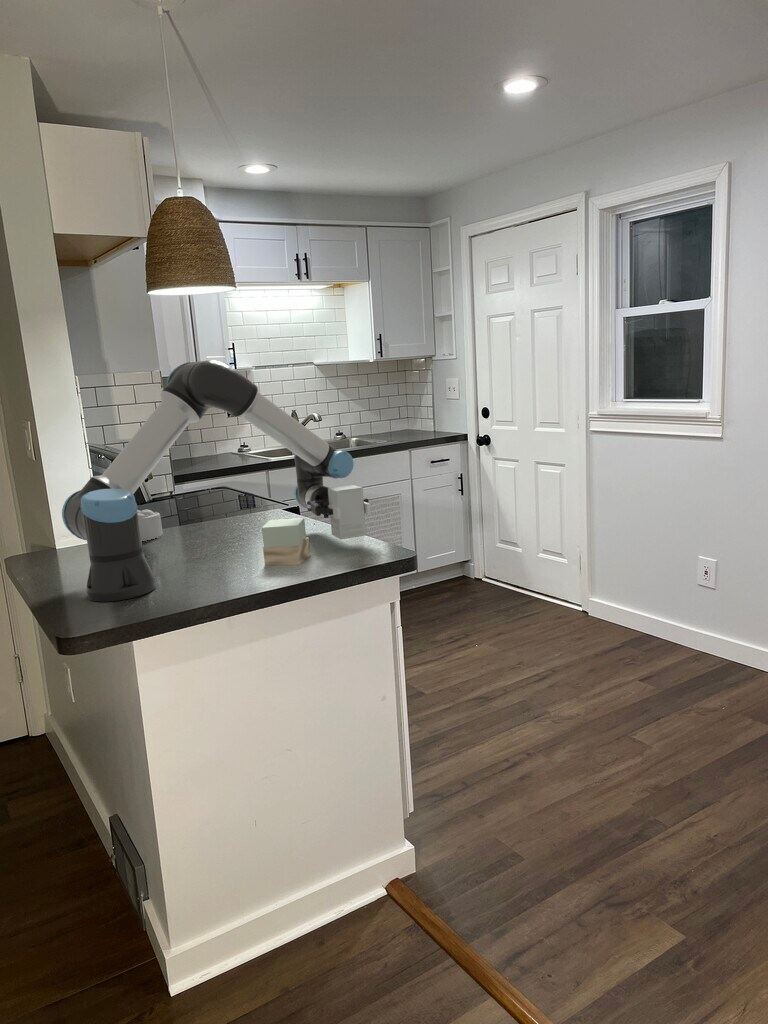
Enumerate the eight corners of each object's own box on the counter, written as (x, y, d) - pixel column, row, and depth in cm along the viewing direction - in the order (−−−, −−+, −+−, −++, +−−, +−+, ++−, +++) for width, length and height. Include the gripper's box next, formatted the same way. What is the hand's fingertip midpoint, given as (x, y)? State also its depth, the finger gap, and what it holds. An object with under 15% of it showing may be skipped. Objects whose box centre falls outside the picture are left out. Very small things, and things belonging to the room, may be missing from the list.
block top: (300, 545, 187) (297, 525, 186) (264, 547, 188) (261, 527, 187) (306, 536, 196) (304, 517, 195) (271, 538, 196) (269, 520, 195)
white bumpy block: (117, 539, 236) (113, 512, 235) (160, 532, 241) (156, 506, 240) (120, 545, 227) (116, 517, 225) (165, 538, 232) (161, 510, 230)
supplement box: (367, 535, 195) (363, 487, 193) (340, 540, 193) (335, 490, 190) (357, 530, 202) (353, 483, 200) (331, 534, 199) (326, 487, 197)
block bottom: (299, 565, 187) (297, 545, 186) (265, 566, 189) (262, 546, 188) (310, 556, 196) (308, 537, 195) (277, 556, 198) (275, 538, 197)
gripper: (357, 508, 217) (391, 519, 196) (289, 518, 209) (317, 531, 188) (355, 482, 216) (389, 491, 195) (286, 491, 207) (314, 502, 187)
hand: (354, 511), depth 192 cm, fingers closed on supplement box, 7 cm apart
